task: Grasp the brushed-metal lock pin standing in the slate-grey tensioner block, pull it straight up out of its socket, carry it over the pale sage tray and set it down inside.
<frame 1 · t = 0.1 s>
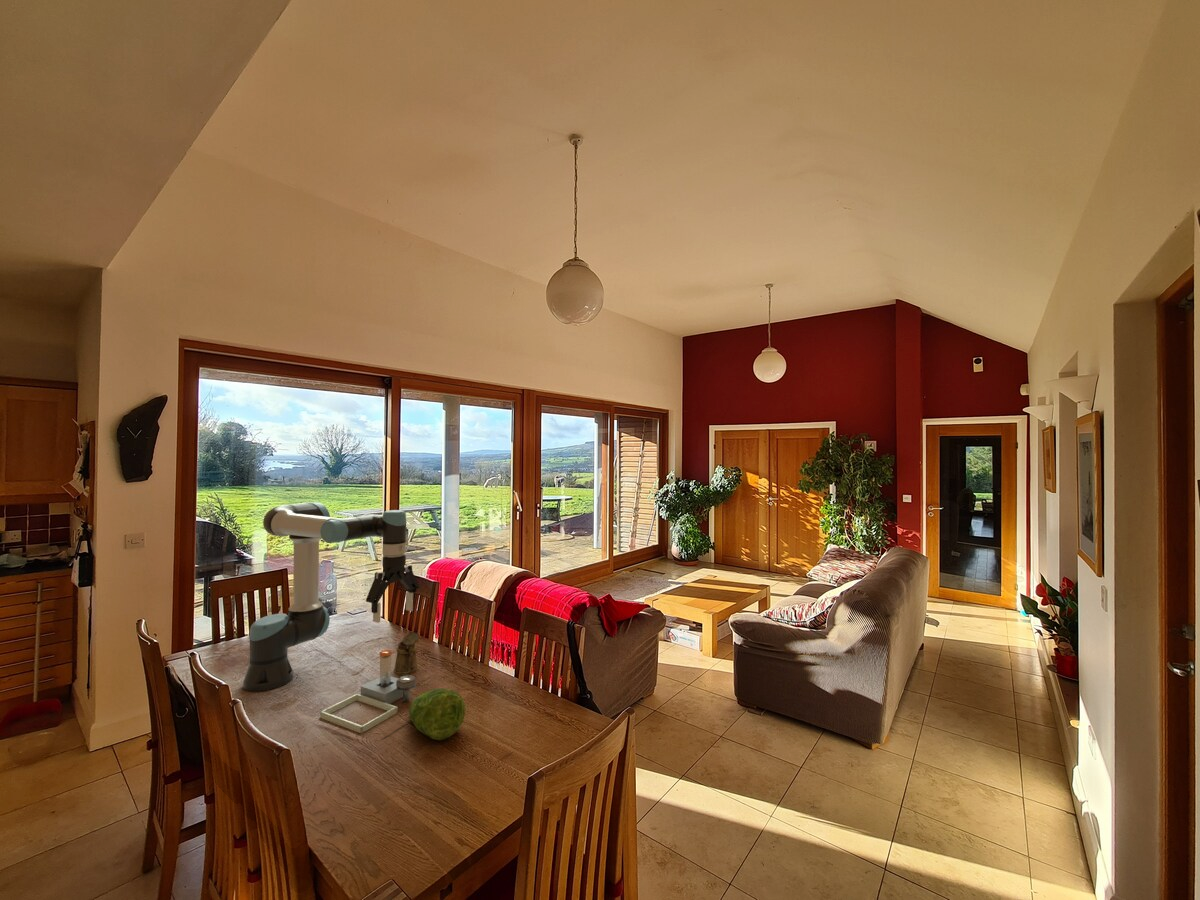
hand: (393, 616, 171), 28 cm above the table, fingers open, 13 cm apart
tensioner block: (385, 698, 169), on the table
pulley: (406, 703, 166), on the table
lettuce: (432, 728, 152), on the table
wooden mug: (407, 674, 188), on the table
tray: (359, 718, 157), on the table
pin: (385, 695, 169), point 1 cm above the table, touching tensioner block
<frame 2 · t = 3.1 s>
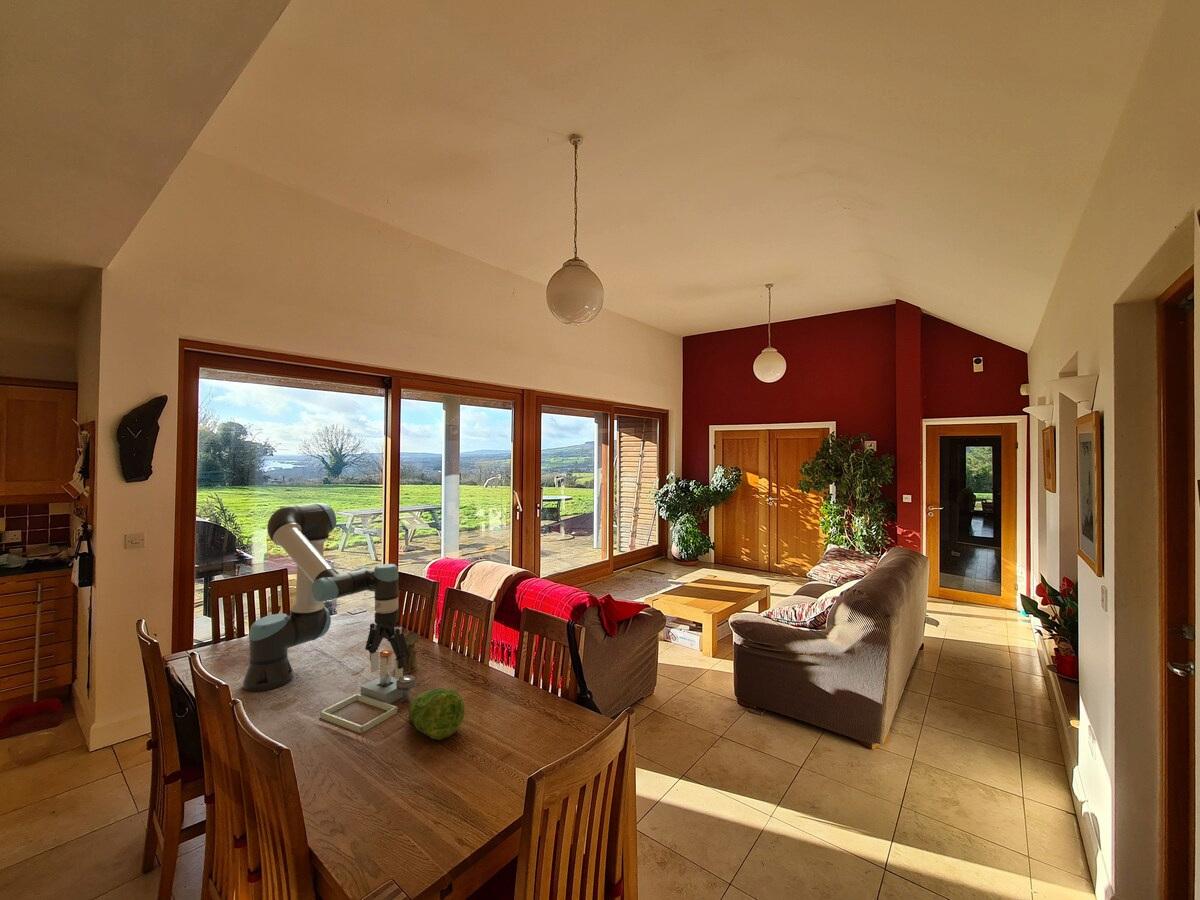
hand: (386, 674, 169), 8 cm above the table, fingers open, 11 cm apart
nothing on the table moved.
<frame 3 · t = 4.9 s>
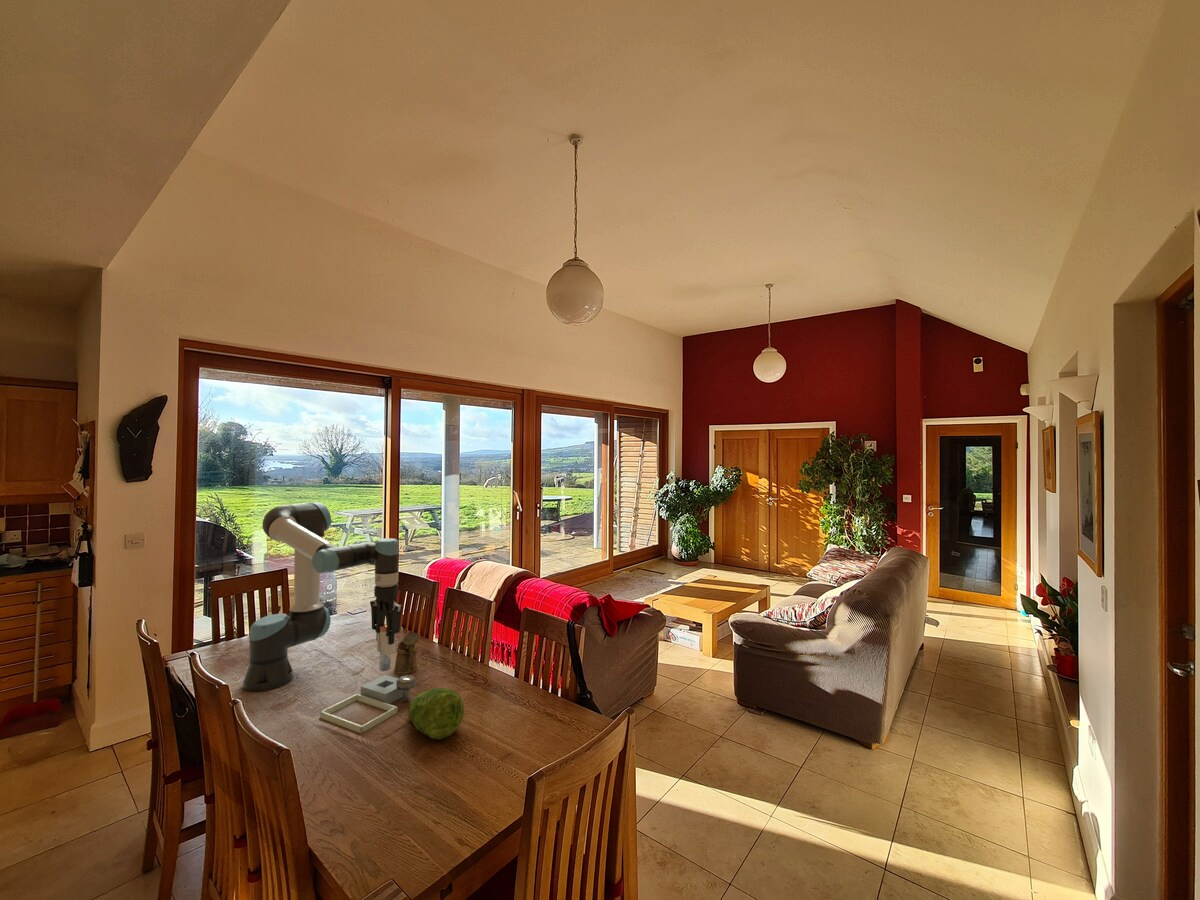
hand: (385, 651, 170), 16 cm above the table, fingers closed on pin, 3 cm apart
pin: (384, 669, 170), point 10 cm above the table, touching gripper
everything else where it was.
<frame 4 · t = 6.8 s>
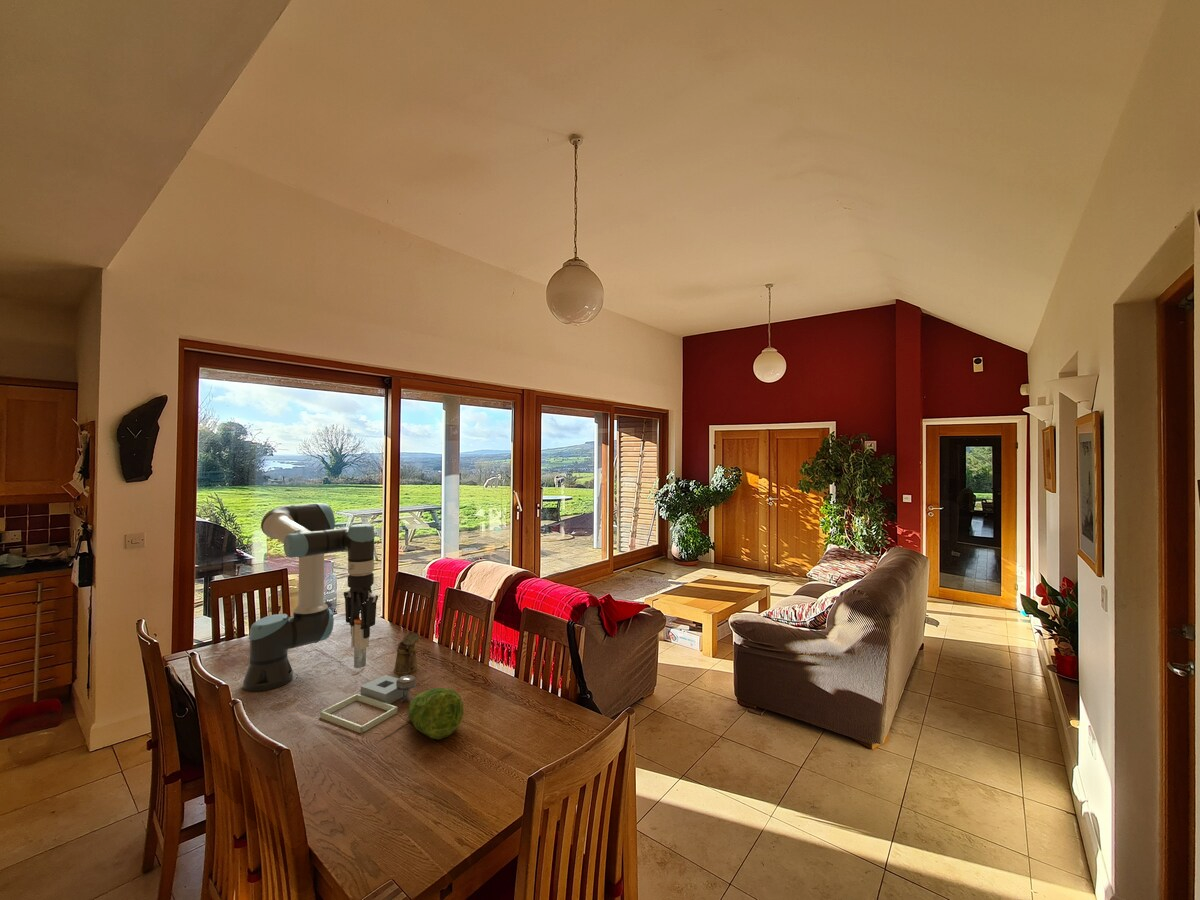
hand: (360, 646, 157), 23 cm above the table, fingers closed on pin, 3 cm apart
pin: (359, 665, 157), point 17 cm above the table, touching gripper
everything else where it was.
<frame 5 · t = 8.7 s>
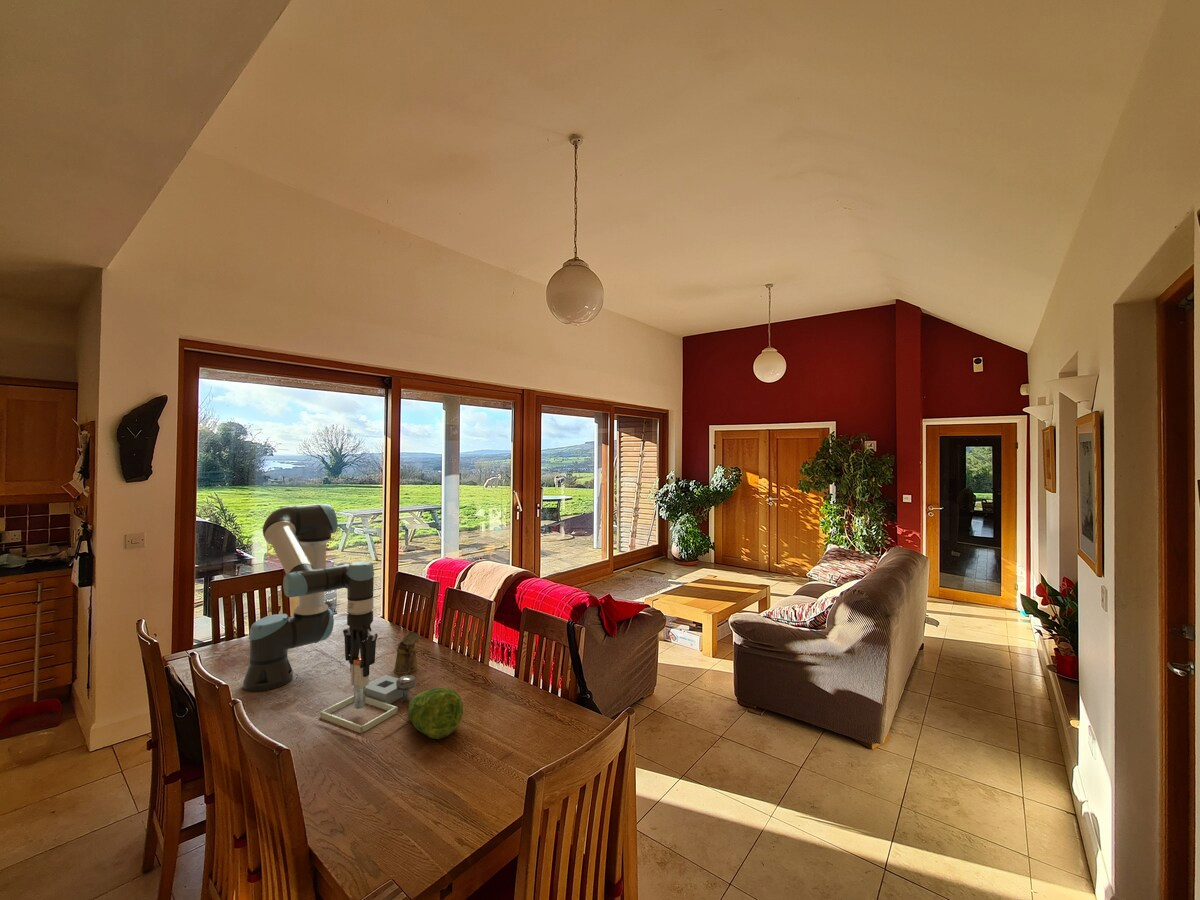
hand: (359, 684, 157), 11 cm above the table, fingers closed on pin, 3 cm apart
pin: (359, 706, 157), point 4 cm above the table, touching gripper
when the fingers open (8 cm above the table, at t = 9.7 s): pin stays where it is, resting on tray.
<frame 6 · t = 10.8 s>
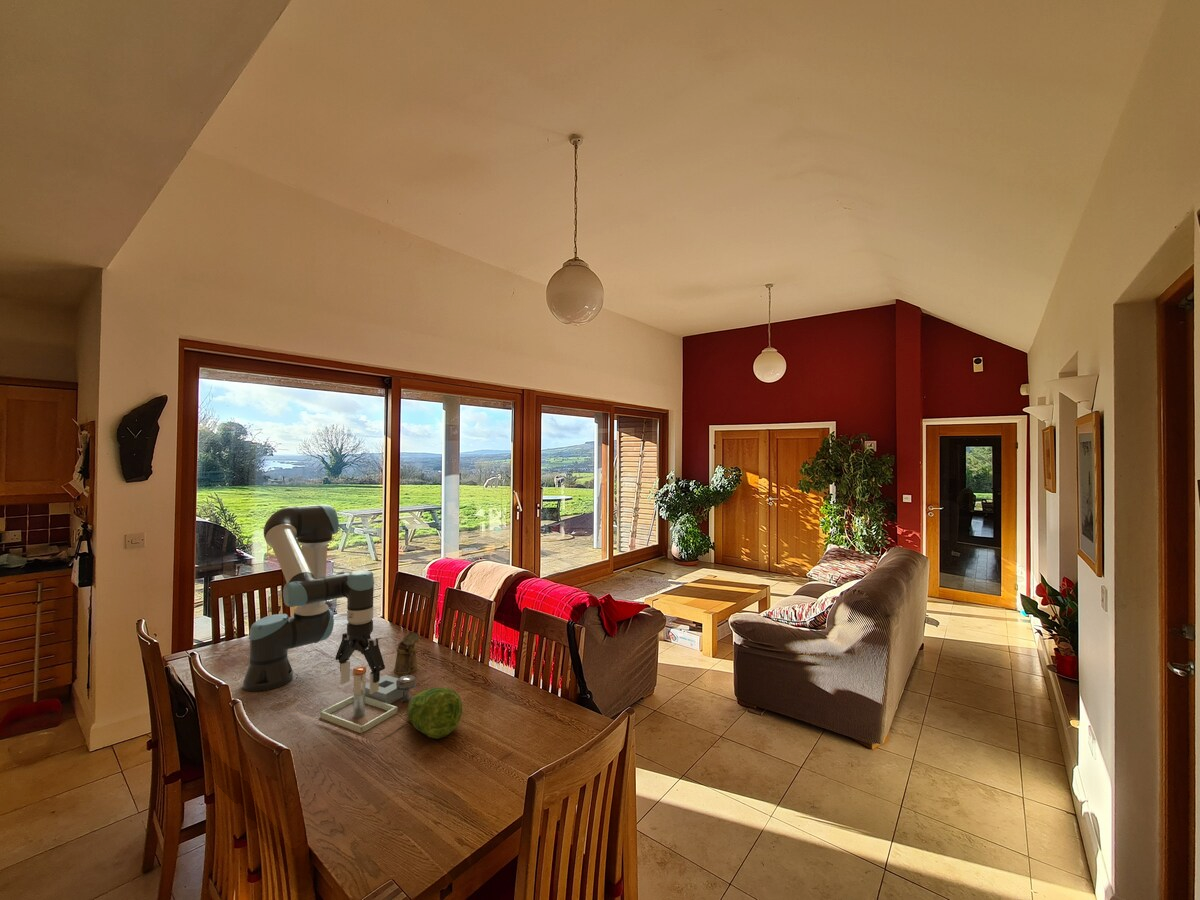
hand: (359, 687, 157), 10 cm above the table, fingers open, 13 cm apart
pin: (359, 716, 157), point 1 cm above the table, touching tray
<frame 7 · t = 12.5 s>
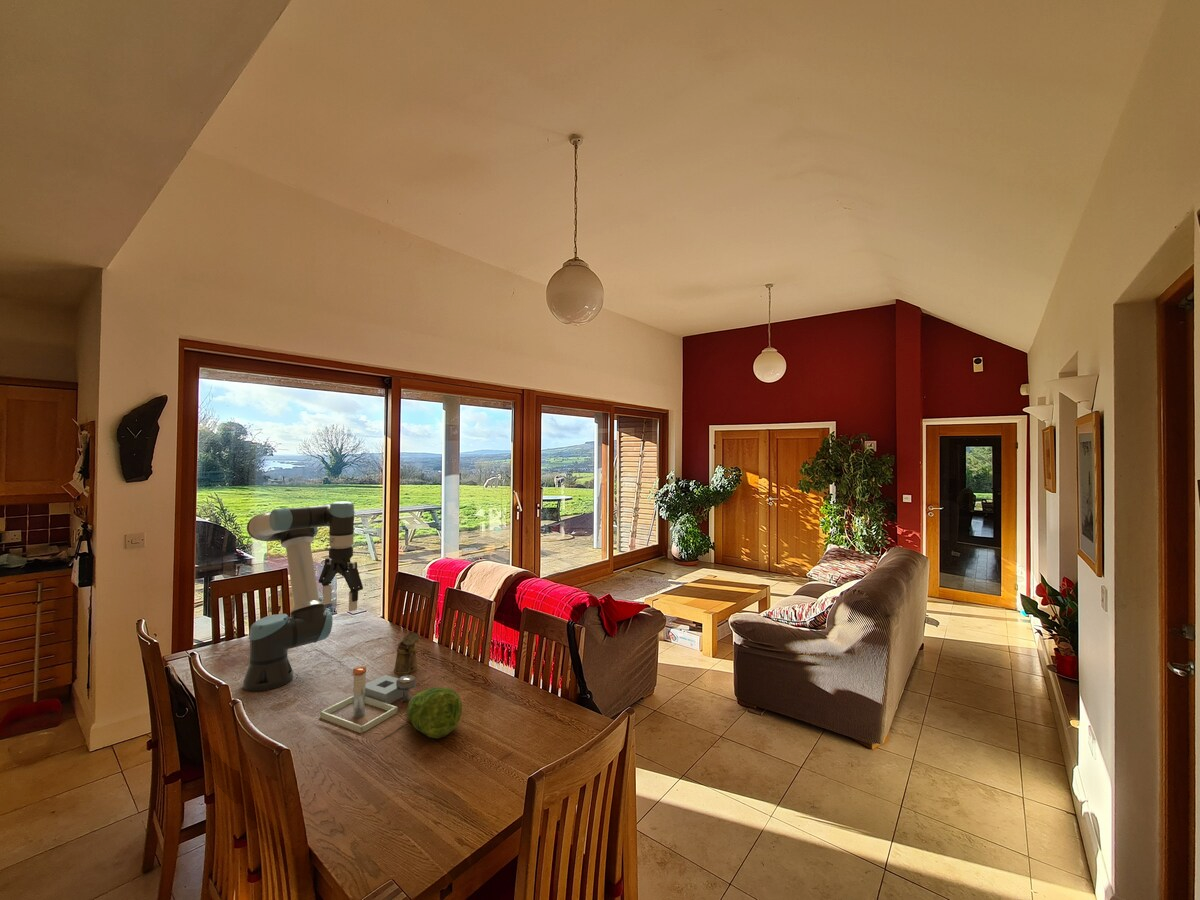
hand: (339, 607, 172), 31 cm above the table, fingers open, 13 cm apart
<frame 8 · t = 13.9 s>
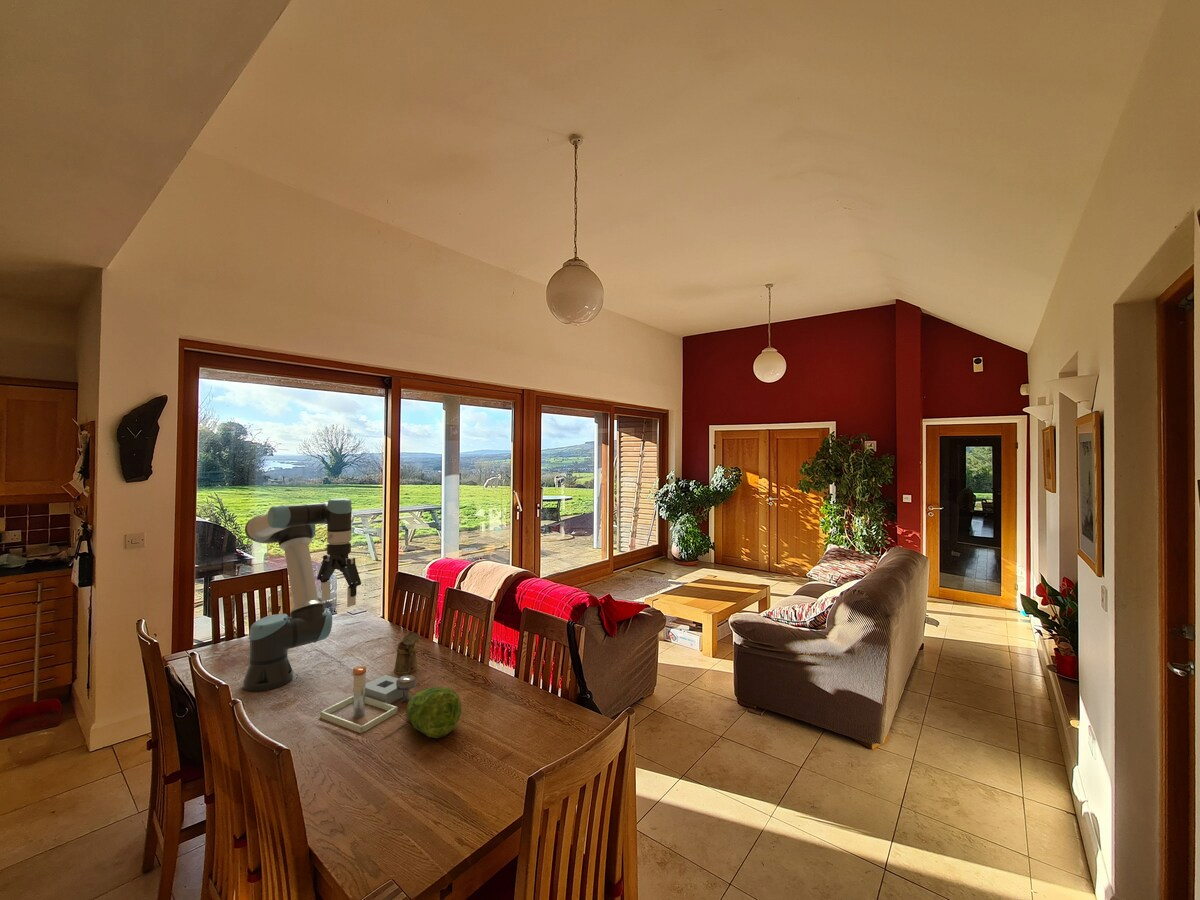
hand: (338, 603, 173), 32 cm above the table, fingers open, 13 cm apart
at the end: pin inside the target area on the tray (0.0 cm from its centre), point 0.6 cm above the tray's base; the gripper is holding nothing; pin touching tray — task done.
